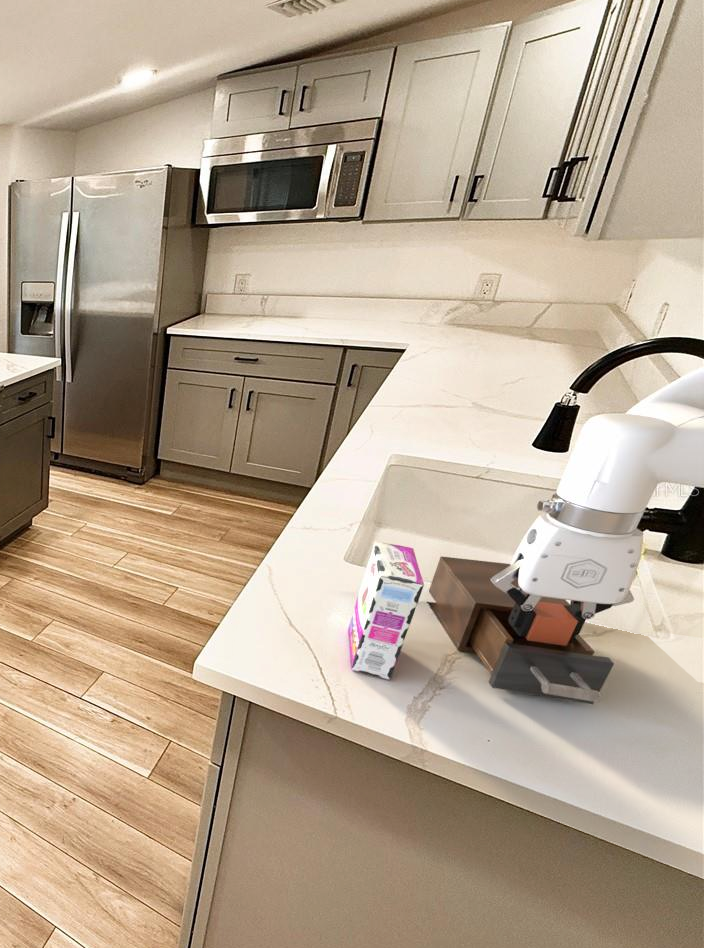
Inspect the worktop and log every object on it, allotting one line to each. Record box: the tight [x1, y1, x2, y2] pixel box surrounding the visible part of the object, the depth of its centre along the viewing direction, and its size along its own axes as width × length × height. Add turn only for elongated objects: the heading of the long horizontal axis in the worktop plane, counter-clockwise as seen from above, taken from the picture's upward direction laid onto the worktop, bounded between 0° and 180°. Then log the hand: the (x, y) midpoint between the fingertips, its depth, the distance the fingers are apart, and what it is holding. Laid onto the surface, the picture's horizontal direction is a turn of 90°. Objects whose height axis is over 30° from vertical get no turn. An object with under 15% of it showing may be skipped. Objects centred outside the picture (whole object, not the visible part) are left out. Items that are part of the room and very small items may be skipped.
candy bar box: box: [347, 541, 425, 681], centre depth 89 cm, size 11×5×16 cm, turn 149°
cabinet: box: [426, 556, 570, 654], centre depth 93 cm, size 14×12×9 cm
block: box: [525, 602, 578, 646], centre depth 82 cm, size 4×4×4 cm
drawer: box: [468, 608, 615, 705], centre depth 83 cm, size 17×10×7 cm, turn 158°
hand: (540, 632), depth 83 cm, fingers closed on block, 4 cm apart
